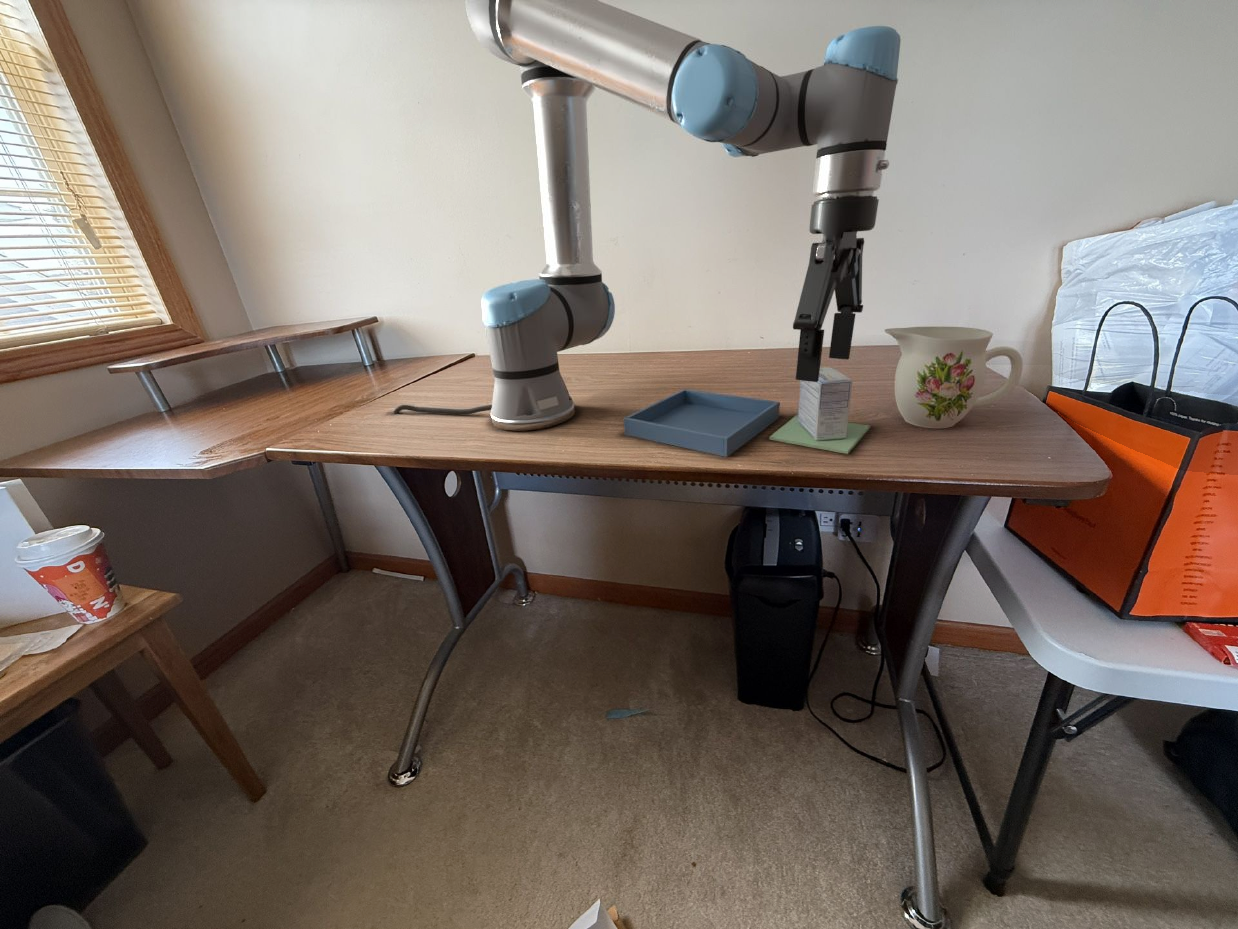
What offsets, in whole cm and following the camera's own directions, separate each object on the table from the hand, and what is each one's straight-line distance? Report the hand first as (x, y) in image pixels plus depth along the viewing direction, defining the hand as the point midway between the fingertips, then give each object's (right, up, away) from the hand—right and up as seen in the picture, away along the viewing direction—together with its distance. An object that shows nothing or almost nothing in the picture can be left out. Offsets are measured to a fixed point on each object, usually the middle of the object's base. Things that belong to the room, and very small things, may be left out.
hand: (823, 368), depth 67 cm
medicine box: (+1, -9, +4) cm, 10 cm away
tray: (-15, -7, +11) cm, 20 cm away
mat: (+1, -9, +4) cm, 10 cm away
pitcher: (+19, -7, +5) cm, 21 cm away
